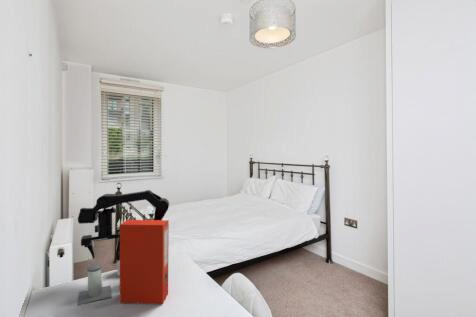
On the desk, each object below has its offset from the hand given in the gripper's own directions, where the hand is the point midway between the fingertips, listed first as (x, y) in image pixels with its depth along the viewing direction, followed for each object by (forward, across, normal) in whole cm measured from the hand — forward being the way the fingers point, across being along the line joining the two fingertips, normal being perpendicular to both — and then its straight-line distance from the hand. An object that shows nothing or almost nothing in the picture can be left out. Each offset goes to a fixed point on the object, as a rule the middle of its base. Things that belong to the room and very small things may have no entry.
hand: (105, 256), depth 117 cm
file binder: (+13, -14, +20) cm, 28 cm away
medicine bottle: (+13, -10, -7) cm, 18 cm away
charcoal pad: (+13, +4, +8) cm, 16 cm away
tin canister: (+12, +4, +8) cm, 15 cm away
